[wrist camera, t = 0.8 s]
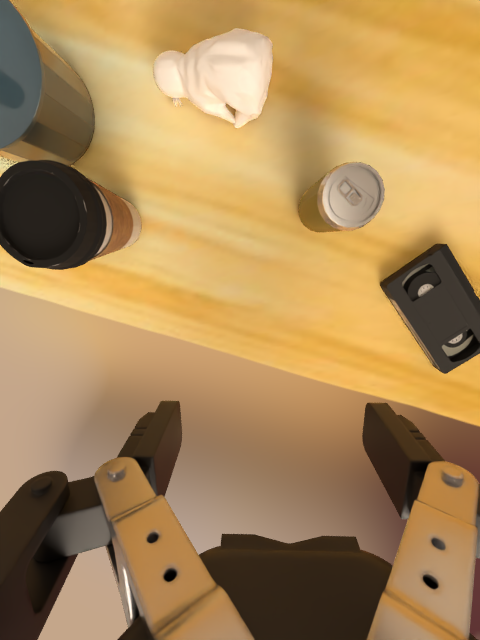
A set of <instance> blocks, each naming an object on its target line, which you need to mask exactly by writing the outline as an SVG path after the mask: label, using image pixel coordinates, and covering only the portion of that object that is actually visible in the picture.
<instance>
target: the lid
mask: <svg viewBox="0 0 480 640" xmlns="http://www.w3.org/2000/svg"><path fill="white" fill-rule="evenodd" d="M44 95H45V71H44V64H43V60H42V56H41V52H40V49H39V46H38V43H37V41H36V38H35V36H34V34H33V32H32V30H31V28H30V26H29V25H28V23H27V22H26V20H25V18H24V17H23V16H22V14H21V13H20V12H19V10H18V9H17V8H16V7H15V6H14V5H13V4H12V3H11V2H10V1H9V0H0V151H3V150H6V149H8V148H10V147H12V146H14V145H16V144H17V143H19V142H20V141H21V140H23V139H24V138H25V137H26V136H27V135H28V134H29V132H30V131H31V130H32V128H33V127H34V125H35V123H36V121H37V119H38V118H39V115H40V112H41V109H42V106H43V101H44Z"/></svg>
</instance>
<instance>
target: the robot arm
mask: <svg viewBox="0 0 480 640" xmlns="http://www.w3.org/2000/svg"><path fill="white" fill-rule="evenodd" d="M181 441H182V426H181V412H180V403H179V401H161V402H160V404H159V406H158V408H157V410H156V412H155V413H152V412H148V413H147V414H146V415H144V416H143V417H142V418H141V419H140V420H139V421H138V423H137V424H136V426H135V429H134V430H133V431H132V433H131V436H129V438H128V440H127V441H126V443H125V445H124V446H123V448H122V450H121V451H120V453H119V455H118V457H117V458H115V459H112V460H110V461H108V462H106V463H104V464H103V465H102V466H100V467H99V469H98V470H97V471H96V473H95V476H93V477H90V478H86V479H81V480H77V481H72V482H68V479H67V476H66V474H64V473H63V472H60V471H50V472H45V473H42V474H39V475H37V476H35V477H33V478H31V479H30V480H28V481H27V482H26V483H25V484H23V485H22V487H20V488H19V490H18V491H17V492H16V493H15V495H14V496H13V497H12V498H11V499H10V501H9V502H8V503H7V504H6V505H5V507H4V508H3V509H2V510H1V512H0V640H37V639H38V637H39V635H40V633H41V631H42V629H43V627H44V625H45V623H46V620H47V618H48V616H49V614H50V612H51V610H52V608H53V605H54V604H55V601H56V599H57V597H58V595H59V593H60V591H61V588H62V587H63V585H64V583H65V580H66V578H67V576H68V574H69V572H70V570H71V567H72V565H73V564H74V561H75V559H76V557H77V555H78V553H82V552H85V551H88V550H92V549H95V548H99V547H102V546H106V550H107V553H108V556H109V560H110V563H111V566H112V569H113V573H114V576H115V579H116V583H117V585H118V589H119V592H120V596H121V600H122V604H123V609H124V613H125V617H126V621H127V625H128V629H127V630H126V631H125V632H124V633H123V634H122V635H121V636H120V638H119V639H118V640H477V639H476V638H475V637H474V636H473V635H472V634H470V632H469V629H470V617H471V605H472V593H473V582H474V570H475V558H480V484H478V481H477V480H476V478H475V477H474V476H473V475H472V474H471V473H470V472H468V471H467V470H465V469H464V468H462V467H460V466H458V465H455V464H452V463H449V462H445V460H444V459H443V458H442V457H441V456H440V455H439V453H438V452H437V451H436V450H435V449H434V447H433V446H432V445H431V444H430V443H429V442H428V441H427V440H426V439H425V437H424V436H423V434H422V433H420V432H419V430H418V429H417V427H416V426H415V425H414V424H413V423H412V422H411V421H409V420H408V419H406V418H405V417H403V416H402V415H396V414H395V412H394V411H393V410H392V409H391V407H390V406H389V405H388V404H387V403H367V405H366V408H365V417H364V426H363V445H364V448H365V451H366V453H367V455H368V457H369V458H370V460H371V462H372V464H373V466H374V468H375V470H376V472H377V474H378V475H379V477H380V479H381V481H382V483H383V485H384V487H385V489H386V491H387V493H388V495H389V497H390V498H391V500H392V502H393V504H394V506H395V508H396V510H397V512H398V514H399V516H400V517H401V519H408V522H407V525H406V528H405V531H404V534H403V537H402V540H401V543H400V546H399V549H398V552H397V555H396V558H395V561H394V564H393V565H391V564H390V563H388V562H387V561H385V560H384V559H382V558H380V557H378V556H376V555H374V554H371V553H369V552H366V551H363V550H360V548H359V545H358V542H357V539H356V537H343V536H342V537H340V536H321V537H317V538H312V539H308V540H304V541H300V542H296V543H291V544H288V543H283V542H280V541H276V540H272V539H269V538H265V537H261V536H258V535H251V534H248V535H247V534H222V538H221V546H219V547H215V548H212V549H209V550H207V551H205V552H203V553H201V554H199V555H198V554H197V552H196V550H195V548H194V547H193V545H192V543H191V542H190V540H189V538H188V537H187V535H186V533H185V531H184V530H183V528H182V526H181V524H180V523H179V521H178V519H177V518H176V516H175V514H174V512H173V511H172V509H171V507H170V506H169V504H168V502H167V501H166V499H165V497H164V496H165V493H166V490H167V487H168V484H169V481H170V478H171V475H172V472H173V469H174V466H175V462H176V459H177V456H178V453H179V450H180V447H181Z"/></svg>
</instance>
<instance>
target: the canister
mask: <svg viewBox="0 0 480 640" xmlns="http://www.w3.org/2000/svg"><path fill="white" fill-rule="evenodd" d="M31 30H32V29H31ZM32 32H33V34H34V36H35V38H36V41H37V43H38V46H39V49H40V52H41V56H42V60H43V64H44V71H45V95H44V101H43V106H42V109H41V112H40V115H39V118H38V119H37V121H36V123H35V125H34V127H33V128H32V130H31V131H30V132H29V134H28V135H27V136H26V137H25V138H24V139H23V140H21V141H20V142H19V143H17V144H16V145H14V146H12V147H10V148H8V149H6V150H3V151H0V156H2V157H5V158H8V159H11V160H14V161H17V162H23V161H28V160H52V161H56V162H60V163H63V164H65V165H67V166H69V165H71V164H73V163H74V162H76V161H77V160H78V159H79V158H80V157H81V156H82V155H83V154H84V153H85V151H86V150H87V148H88V146H89V144H90V142H91V139H92V136H93V132H94V109H93V104H92V100H91V97H90V95H89V92H88V90H87V88H86V86H85V84H84V83H83V81H82V80H81V78H80V77H79V76H78V74H77V73H76V72H75V71H74V70H73V69H72V68H71V67H70V66H69V64H68V63H67V62H66V61H65V60H64V59H63V58H61V57H60V56H59V55H58V54H57V53H56V52H55V51H54V50H53V49H52V48H51V47H50V46H49V45H48V44H47V43H46V42H45V41H44V40H43V39H42V38H40V37H39V36H38V35H37V34H36V33H35V32H34V31H33V30H32Z"/></svg>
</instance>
